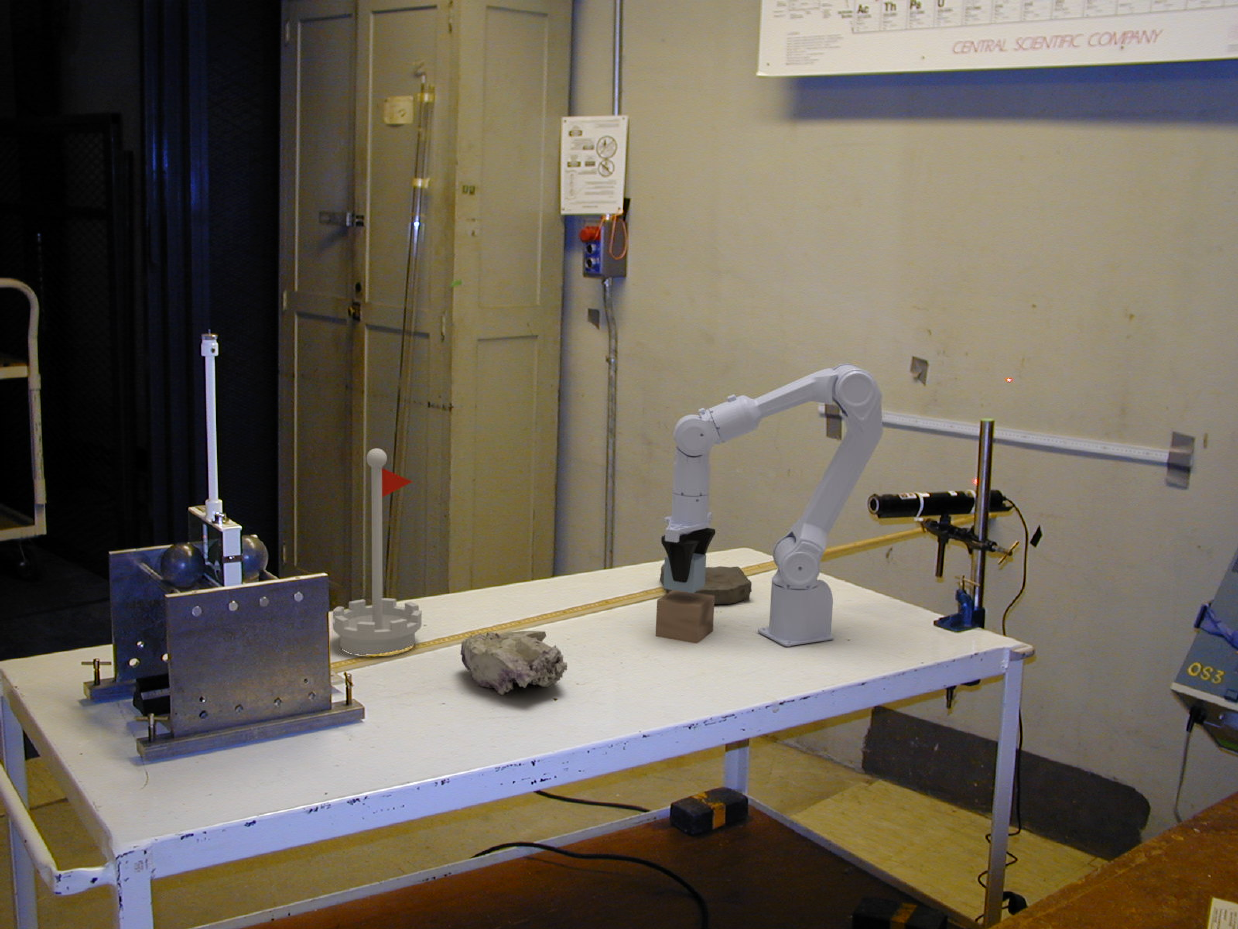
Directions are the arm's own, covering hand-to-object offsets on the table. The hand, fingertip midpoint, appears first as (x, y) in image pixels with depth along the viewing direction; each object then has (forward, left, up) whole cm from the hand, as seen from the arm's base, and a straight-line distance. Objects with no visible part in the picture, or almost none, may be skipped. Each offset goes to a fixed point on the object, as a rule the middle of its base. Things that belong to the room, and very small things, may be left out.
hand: (686, 577), depth 188 cm
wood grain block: (0, 0, -9) cm, 9 cm away
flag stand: (+46, -13, -10) cm, 49 cm away
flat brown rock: (-15, -18, -10) cm, 25 cm away
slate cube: (0, 0, -2) cm, 2 cm away
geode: (+33, +10, -10) cm, 36 cm away
